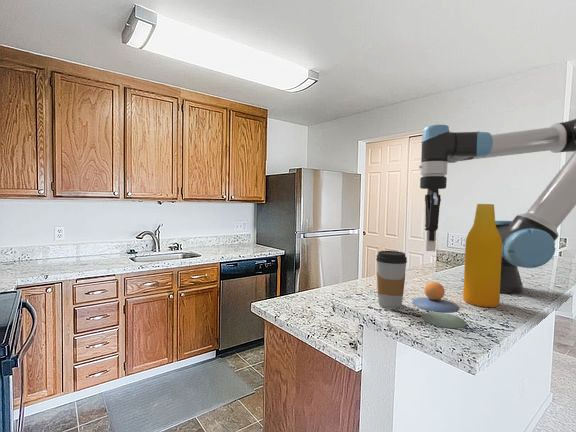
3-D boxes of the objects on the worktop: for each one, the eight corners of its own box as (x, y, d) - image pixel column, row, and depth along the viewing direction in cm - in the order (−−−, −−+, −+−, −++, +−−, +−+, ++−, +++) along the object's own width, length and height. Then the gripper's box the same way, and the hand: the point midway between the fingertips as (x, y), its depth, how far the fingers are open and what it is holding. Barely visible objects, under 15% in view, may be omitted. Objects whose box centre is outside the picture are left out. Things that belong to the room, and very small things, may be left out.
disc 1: (442, 298, 98) (442, 297, 98) (468, 312, 86) (468, 311, 86) (405, 298, 97) (405, 297, 97) (425, 312, 85) (425, 311, 85)
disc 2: (450, 312, 85) (450, 311, 85) (475, 327, 75) (475, 327, 75) (414, 313, 84) (414, 312, 84) (435, 328, 74) (435, 327, 74)
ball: (444, 278, 95) (445, 294, 91) (443, 289, 98) (444, 305, 95) (424, 277, 97) (424, 292, 93) (424, 287, 100) (424, 302, 97)
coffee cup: (407, 311, 86) (409, 256, 85) (375, 308, 87) (377, 254, 86) (403, 301, 94) (404, 251, 93) (373, 299, 95) (375, 249, 95)
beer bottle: (507, 308, 89) (512, 204, 88) (474, 307, 89) (479, 203, 88) (485, 298, 99) (490, 204, 97) (456, 297, 98) (460, 203, 97)
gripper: (417, 177, 107) (415, 247, 108) (423, 174, 95) (420, 253, 96) (442, 177, 105) (439, 248, 107) (451, 174, 93) (447, 255, 94)
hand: (430, 250), depth 101 cm, fingers closed
